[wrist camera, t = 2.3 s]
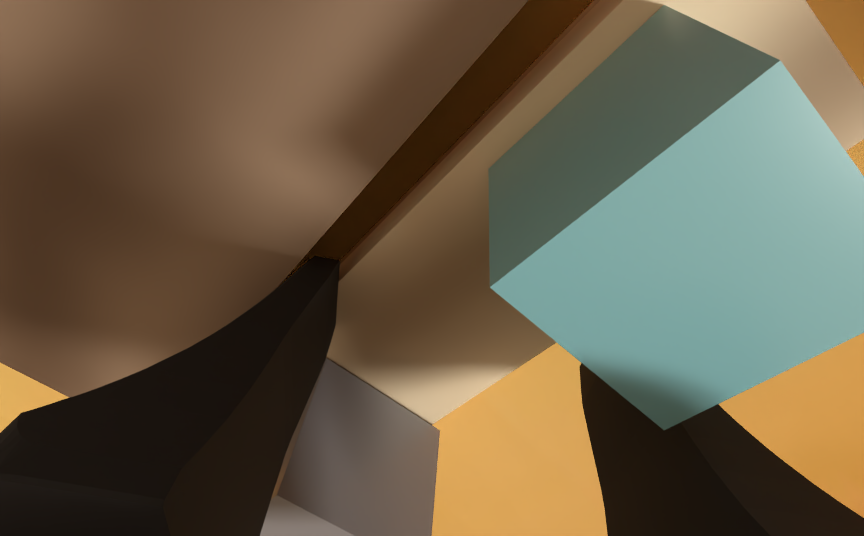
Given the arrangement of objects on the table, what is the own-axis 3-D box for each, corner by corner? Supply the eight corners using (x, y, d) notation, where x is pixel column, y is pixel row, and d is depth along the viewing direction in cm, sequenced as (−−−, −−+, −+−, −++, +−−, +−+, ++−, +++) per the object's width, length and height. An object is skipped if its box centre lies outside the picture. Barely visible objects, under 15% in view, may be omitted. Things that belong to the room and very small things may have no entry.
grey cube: (439, 430, 15) (427, 574, 11) (359, 487, 17) (329, 626, 13) (326, 358, 14) (277, 494, 10) (253, 428, 15) (190, 564, 12)
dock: (727, -255, 8) (797, -304, 6) (179, 387, 17) (144, 439, 15) (276, -958, 5) (172, -1391, 3) (-75, 247, 15) (-150, 291, 13)
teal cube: (789, 164, 10) (946, 292, 6) (613, 284, 12) (663, 430, 8) (664, 4, 8) (780, 60, 5) (488, 168, 10) (489, 287, 7)
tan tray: (802, 79, 12) (888, 122, 9) (342, 425, 20) (322, 497, 18) (672, -102, 10) (732, -109, 7) (231, 358, 18) (192, 427, 16)
